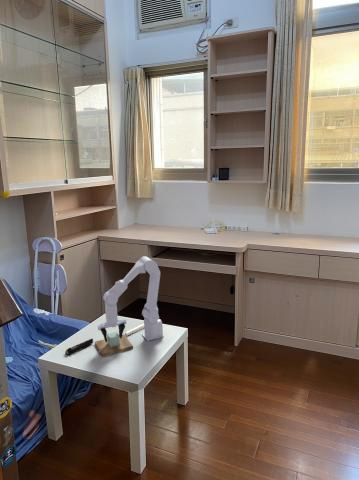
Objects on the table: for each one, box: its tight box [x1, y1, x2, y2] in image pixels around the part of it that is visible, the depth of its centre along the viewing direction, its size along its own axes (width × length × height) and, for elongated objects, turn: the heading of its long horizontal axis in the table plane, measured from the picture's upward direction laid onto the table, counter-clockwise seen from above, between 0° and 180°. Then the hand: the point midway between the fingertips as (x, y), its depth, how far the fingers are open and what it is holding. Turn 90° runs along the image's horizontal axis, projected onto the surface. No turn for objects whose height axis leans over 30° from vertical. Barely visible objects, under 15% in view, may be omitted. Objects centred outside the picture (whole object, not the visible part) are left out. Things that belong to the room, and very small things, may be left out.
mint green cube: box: [107, 331, 120, 347], centre depth 181 cm, size 5×5×5 cm
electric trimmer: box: [64, 338, 94, 357], centre depth 181 cm, size 4×16×3 cm, turn 138°
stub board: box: [94, 334, 134, 358], centre depth 182 cm, size 16×14×4 cm
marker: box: [124, 323, 144, 337], centre depth 199 cm, size 3×2×16 cm
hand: (113, 339), depth 181 cm, fingers open, 7 cm apart
